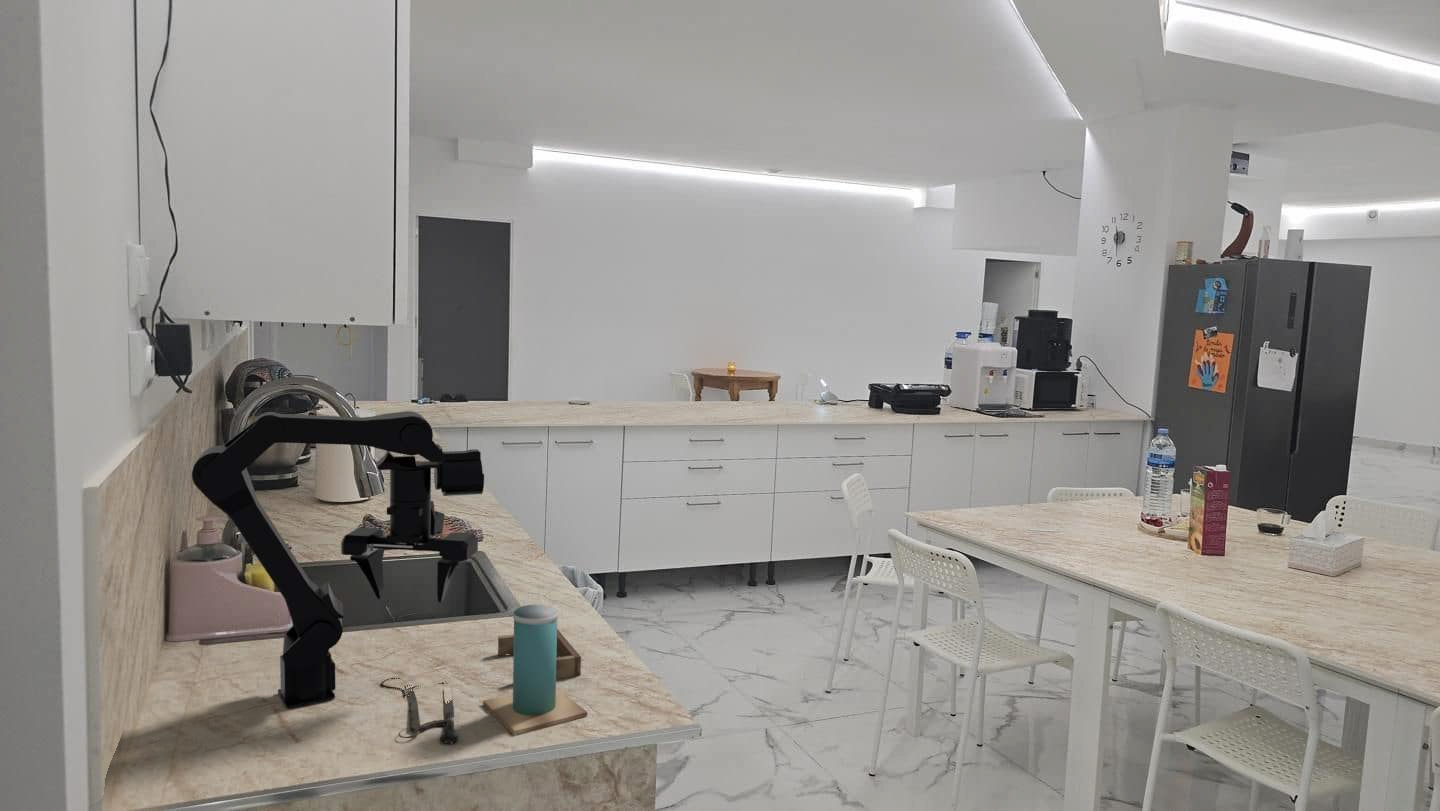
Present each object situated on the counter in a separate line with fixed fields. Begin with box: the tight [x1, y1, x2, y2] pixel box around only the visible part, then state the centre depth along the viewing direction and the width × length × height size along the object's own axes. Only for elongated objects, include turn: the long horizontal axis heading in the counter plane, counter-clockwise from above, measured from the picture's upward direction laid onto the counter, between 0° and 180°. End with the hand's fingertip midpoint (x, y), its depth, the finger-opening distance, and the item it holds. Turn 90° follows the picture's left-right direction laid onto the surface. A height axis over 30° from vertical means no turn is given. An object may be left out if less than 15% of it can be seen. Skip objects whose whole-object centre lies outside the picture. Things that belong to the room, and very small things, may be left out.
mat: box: [482, 686, 588, 736], centre depth 131 cm, size 11×11×1 cm
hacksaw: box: [380, 677, 459, 745], centre depth 129 cm, size 24×10×2 cm, turn 18°
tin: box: [512, 603, 559, 716], centre depth 130 cm, size 6×6×14 cm
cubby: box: [497, 628, 582, 680], centre depth 147 cm, size 10×13×3 cm
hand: (410, 600), depth 137 cm, fingers open, 9 cm apart
